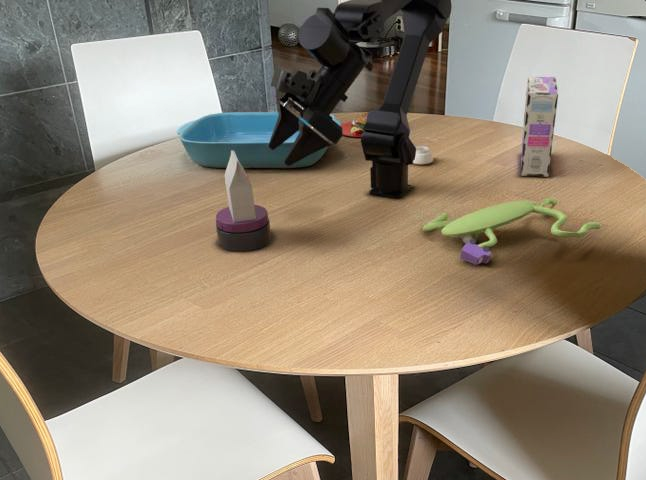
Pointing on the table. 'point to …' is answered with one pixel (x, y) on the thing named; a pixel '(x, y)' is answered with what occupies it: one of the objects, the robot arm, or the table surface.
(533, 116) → the candy box
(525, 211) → the figurine
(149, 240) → the table surface
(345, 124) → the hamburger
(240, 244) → the jar
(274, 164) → the casserole dish
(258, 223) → the jar lid
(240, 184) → the paper tea packet
